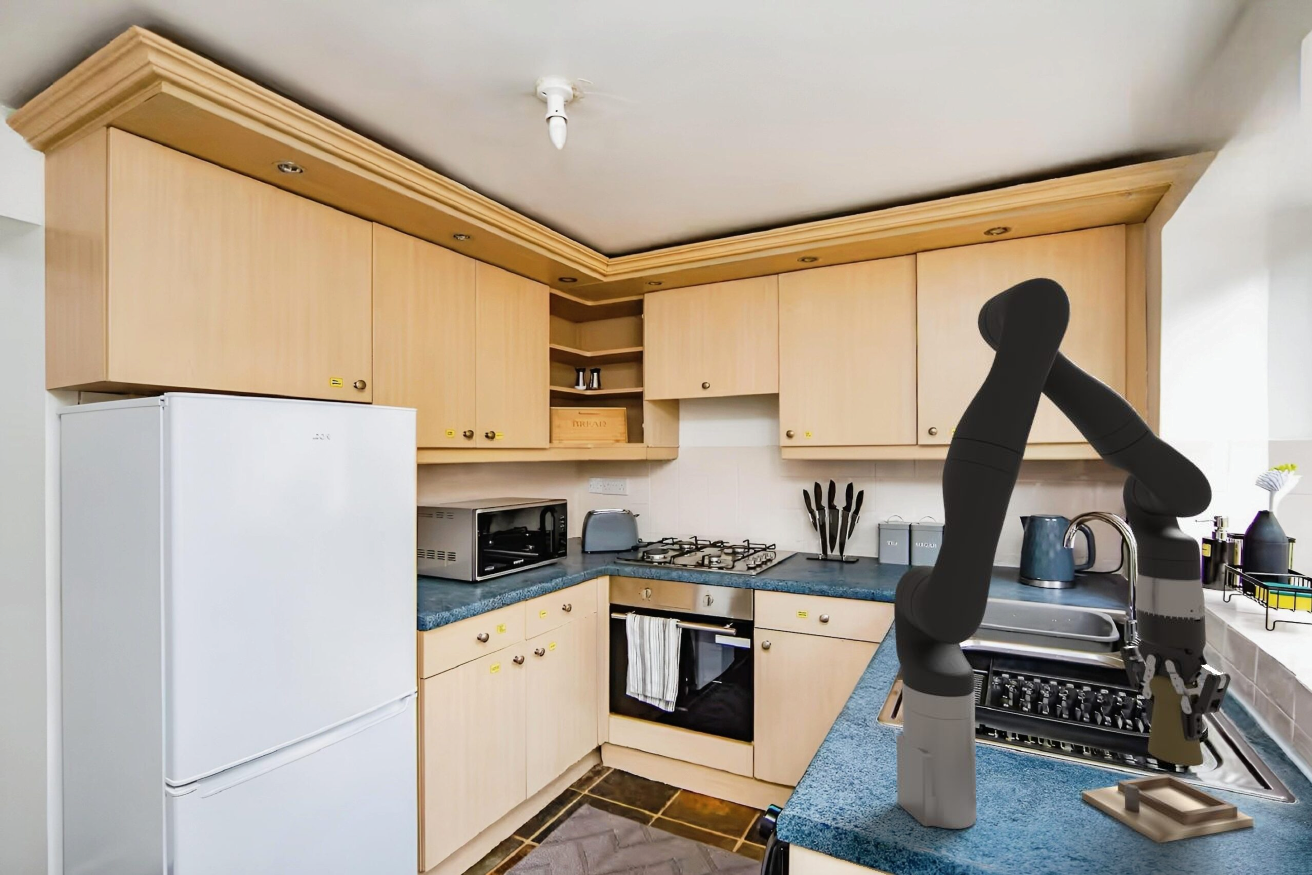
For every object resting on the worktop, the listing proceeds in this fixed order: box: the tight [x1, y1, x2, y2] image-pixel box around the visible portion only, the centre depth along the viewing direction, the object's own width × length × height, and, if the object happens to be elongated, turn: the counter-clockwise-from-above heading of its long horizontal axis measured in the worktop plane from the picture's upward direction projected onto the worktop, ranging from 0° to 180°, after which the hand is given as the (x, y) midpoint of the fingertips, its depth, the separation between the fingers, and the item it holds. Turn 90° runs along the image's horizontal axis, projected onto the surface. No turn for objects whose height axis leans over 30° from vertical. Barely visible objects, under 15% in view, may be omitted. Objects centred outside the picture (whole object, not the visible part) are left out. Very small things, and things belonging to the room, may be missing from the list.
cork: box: [1147, 675, 1204, 767], centre depth 90 cm, size 6×6×11 cm
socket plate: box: [1081, 773, 1254, 844], centre depth 89 cm, size 16×11×4 cm
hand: (1173, 731), depth 90 cm, fingers closed on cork, 4 cm apart
